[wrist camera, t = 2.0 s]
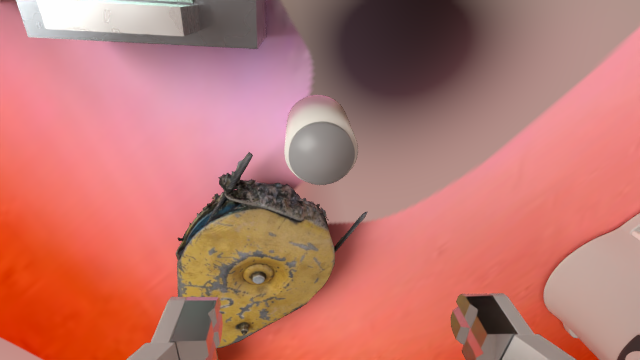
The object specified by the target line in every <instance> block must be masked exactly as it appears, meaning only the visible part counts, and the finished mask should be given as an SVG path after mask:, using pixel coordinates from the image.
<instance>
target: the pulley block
mask: <svg viewBox="0 0 640 360" xmlns="http://www.w3.org/2000/svg"><path fill="white" fill-rule="evenodd" d="M252 156H253V155H252V154H251V153H250V152H249V153H248V154H247V155H246V157H245V158H244V159H243V160H242V161H240V162H239V163H238V166H237V169H236V171H235V172H233V171H232V175H230V174H229V173H227V174H226V175H225V174H224V175H222V176H221V177H218V178H219V179H220V180H219V184H220V185H221V187H222V188H223V189H224V192H223V193H222V194H221V195H220V196H219V195H218V194H215V196H214V197H213V198H212V199H214V200H213V201H212V202H211V203H209V204H207V206H206V207H204V208H203V211H202V212H200V213H199V214H198V213H197V218H195V219H194V221H193V222H192V224H191V223H190V225H189V228H188V229H187V231H186V232H185V234H184V236H183V238H178V237H177V238H178V240H179V241H182V243H181V244H180V246H179V247H178V249H177V252H176V256H177V259H178V262H177V278H178V297H219V298H220V302H221V306H220V311H219V312H220V313H221V314H222V319H223V328H222V336H221V341H220V345H219V346H218V347H217V348H221V347H225V346H227V345H230V344H233V343H236V342H238V341H241V340H243V339H244V338H246V337H248V336H250V335H251V334H253V333H255V332H257V331H259V330H260V329H262V328H264V327H266V326H267V325H269V324H271V323H273V322H275V321H277V320H279V319H280V318H282V317H284V316H286V315H288V314H290V313H291V312H293V311H295V310H297V309H299V308H301V307H302V306H304V305H305V304H307V302H308V301H309V300H310V299H311V298H312V297H313V296H314V295H315V294H316V293H317V292H318V291H319V290H320V289H321V288H322V287H323V286H324V284H325V283H326V282H327V280H328V278H329V277H330V274H331V272H332V269H333V267H334V264H335V252H336V251H337V249H338V248H339V247H340V246H341V245H342V243H343V242H344V241H345V240H346V239H347V238H348V236H349V235H350V234H351V233H352V232H353V231H354V229H355V228H356V227H357V226H358V224H359V223H360V222H361V221H362V220H363V219H364V218H365V216H366V214H367V212H365V213H363V214H362V215H361V217H359V219H358V220H357V221H356V222H355V223H354V225H353V226H352V227H351V229H350V230H349V231H348V232H347V233H346V234H345V236H344V237H342V238H341V239H340V241H339V242H338V243H337V244H336V246H335V247H334V245H333V242H332V239H331V236H330V233H329V229H328V225H327V221H326V218H327V217H326V212H325V211H324V210H323V209H322V208H321V209H320V208H319V206H320V205H319V204H317V205H315V204H314V203H313V202H309V201H306V198H304V199H301V198H300V196H299V195H298V194H296V192H295V191H294V190H293V189H292V188H291V187H290V186H289V185H287V184H286V185H282V184H280V183H275V184H265V183H258V182H255V180H252V179H251V180H249V181H244V180H240V177H241V175H242V174H243V172H244V170H245V169H246V167H247V165H248V163H249V162H250V160H251V158H252ZM234 189H237V190H234ZM325 217H326V218H325ZM216 354H217V350H216ZM217 360H218V354H217Z"/></svg>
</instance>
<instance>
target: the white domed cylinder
mask: <svg viewBox="0 0 640 360" xmlns="http://www.w3.org/2000/svg"><path fill="white" fill-rule="evenodd" d="M284 154H285V160H286V163H287V165H288V167H289V169H290V170H291V171H292V172H293V174H294V175H296V176H297V177H298V178H300V179H301V180H303V181H305V182H308V183H311V184H315V185H326V184H331V183H334V182H336V181H338V180H340V179H341V178H343V177H344V176H345V175H346V174H347V173H348V172H349V171H350V170H351V169H352V167H353V166H354V164H355V162H356V159H357V155H358V145H357V140H356V138H355V135H354V133H353V130H352V128H351V125H350V123H349V121H348V118H347V116H346V113H345V111H344V109H343V108H342V106H341V105H340V104H339V103H338V102H337V101H336V100H334V99H332V98H330V97H328V96H324V95H311V96H307V97H305V98H303V99H301V100H299V101H298V102H297V103H296V104H295V105H294V106H293V107H292V109H291V110H290V112H289V115H288V118H287V126H286V138H285V150H284Z"/></svg>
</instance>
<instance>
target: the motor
mask: <svg viewBox="0 0 640 360" xmlns="http://www.w3.org/2000/svg"><path fill="white" fill-rule="evenodd" d="M16 2H17V5H18V8H19V11H20V14H21V17H22V20H23V23H24V26H25V29H26V32H27V35H28V37H36V38H55V39H75V40H94V41H113V42H133V43H152V44H172V45H191V46H210V47H230V48H249V49H258V47H259V46H260V45H261V43H262V42H263V41H264V39H265V38H266V0H16Z"/></svg>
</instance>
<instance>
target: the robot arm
mask: <svg viewBox="0 0 640 360" xmlns="http://www.w3.org/2000/svg"><path fill="white" fill-rule="evenodd" d="M456 302H457V304H458V307H457V308H456V309H454V310H453V312H452V315H451V327H452V331H453V333H454V336H455V338H456V339H457V340H458V341H459V342H460V343H461V344H463V348H462V353H463V355H464V357H465V359H466V360H576V359H575V358H573V357H572V356H570V355H569V354H567V353H566V352H564V351H563V350H561V349H560V348H558V347H557V346H555V345H554V344H552V343H551V342H549V341H548V340H546V339H545V338H543V337H542V336H541V335H539V334H534V333H533V332H532V330H531V329H530V327H529V326H528V325H527V323H526V322H525V320H524V319H523V318H522V316H521V315H520V313H519V312H518V311H517V309H516V308H515V306H514V305H513V304H512V302H511V301H510V299H509V298H508V297H507V296H506V295H505V294H503V293H499V294H487V293H486V294H461V295H459V296H458V298H457V301H456ZM544 303H545V305H546V307H547V309H548V310H549V311H550V312H551V313H552V314H553V315H555V316H556V317H557V318H558V319H559V320H561V321H562V322H563V325H564V328H565V330H566V331H567V332H568V333H569V334H570V335H571V336H572V337H574V338H579V339H580V340H581V341H582V342H583V343H584V344H585V345H586V346H587V347H588V348H589V349H590V350H591V351H592V352H593V353H594V354H595V355H596V357H597V358H598V359H599V360H640V213H639V214H637V215H636V216H634V217H633V218H631V219H630V220H629V221H627V222H626V223H625V224H623V225H622V226H621V227H619V228H618V229H616V230H614V231H612V232H609V233H607V234H605V235H602V236H600V237H598V238H596V239H593V240H591V241H590V242H588V243H586V244H584V245H583V246H581V247H579V248H578V249H577V250H575V251H574V252H572V253H571V254H570V255H569V256H567V257H566V258H565V259H564V260H563V261H562V262H561V263H560V264H559V265H558V266H557V267H556V269H555V270H554V271H553V272H552V274H551V275H550V277H549V279H548V281H547V283H546V286H545V289H544ZM220 306H221V302H220V298H219V297H171V298H170V299H169V301H168V302H167V305H166V307H165V309H164V312H163V314H162V317H161V319H160V321H159V324H158V326H157V329H156V331H155V333H154V336H153V338H152V341H151V343H145V344H144V345H143V346H142V347H140V348H139V349H138V350H137V351H136V352H135V353H133V354H132V355H131V356H130V357H129V358H128V359H126V360H217V354H216V348H217V347H218V346H219V345H220V341H221V336H222V328H223V319H222V314H221V313H220V312H219V311H220Z"/></svg>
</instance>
